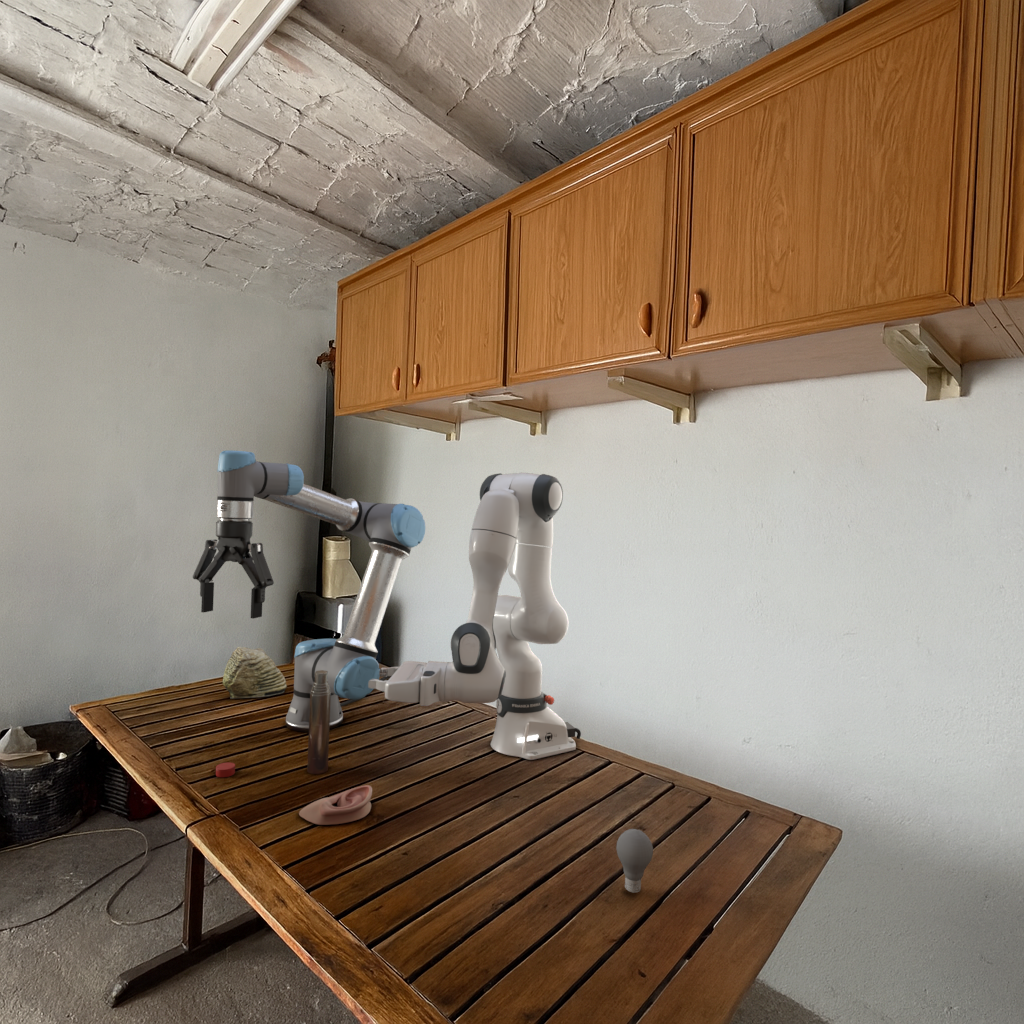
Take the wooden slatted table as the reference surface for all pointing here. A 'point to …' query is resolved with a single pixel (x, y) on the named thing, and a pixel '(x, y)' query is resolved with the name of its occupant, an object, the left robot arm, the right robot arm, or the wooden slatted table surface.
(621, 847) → the light bulb
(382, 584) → the left robot arm
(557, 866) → the wooden slatted table surface
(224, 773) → the cap
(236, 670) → the fossil
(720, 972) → the wooden slatted table surface
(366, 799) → the anatomical model
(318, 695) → the bottle
